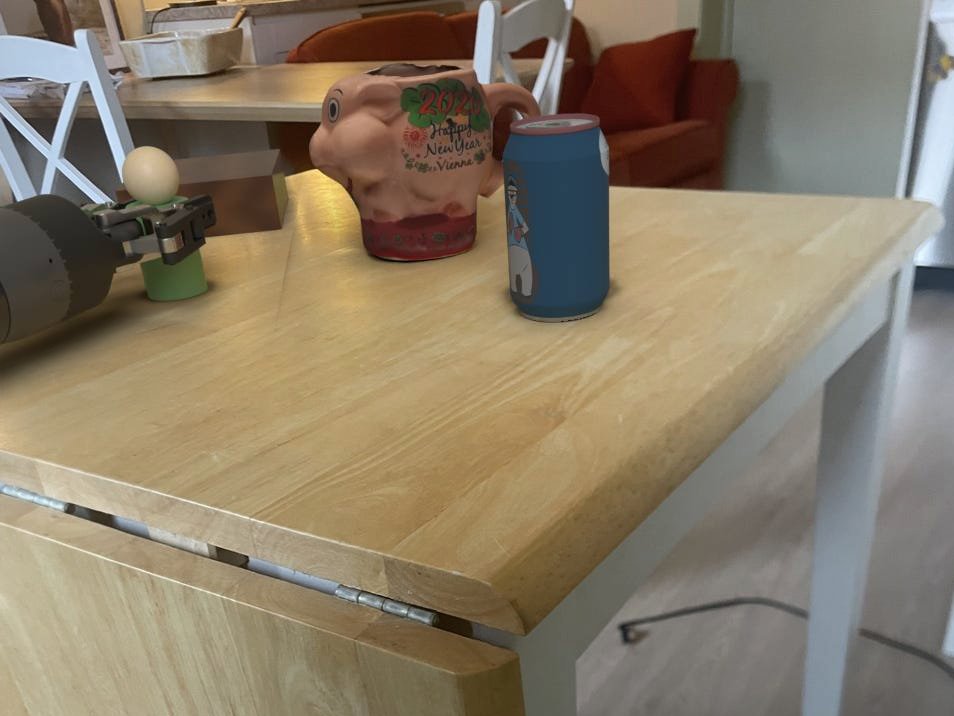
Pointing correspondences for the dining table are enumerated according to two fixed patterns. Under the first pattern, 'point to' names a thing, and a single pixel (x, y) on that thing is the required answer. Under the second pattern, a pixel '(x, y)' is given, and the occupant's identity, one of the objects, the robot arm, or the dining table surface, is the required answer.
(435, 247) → the pink ceramic mug
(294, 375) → the dining table surface
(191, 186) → the walnut block
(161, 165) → the peg doll
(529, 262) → the soda can
